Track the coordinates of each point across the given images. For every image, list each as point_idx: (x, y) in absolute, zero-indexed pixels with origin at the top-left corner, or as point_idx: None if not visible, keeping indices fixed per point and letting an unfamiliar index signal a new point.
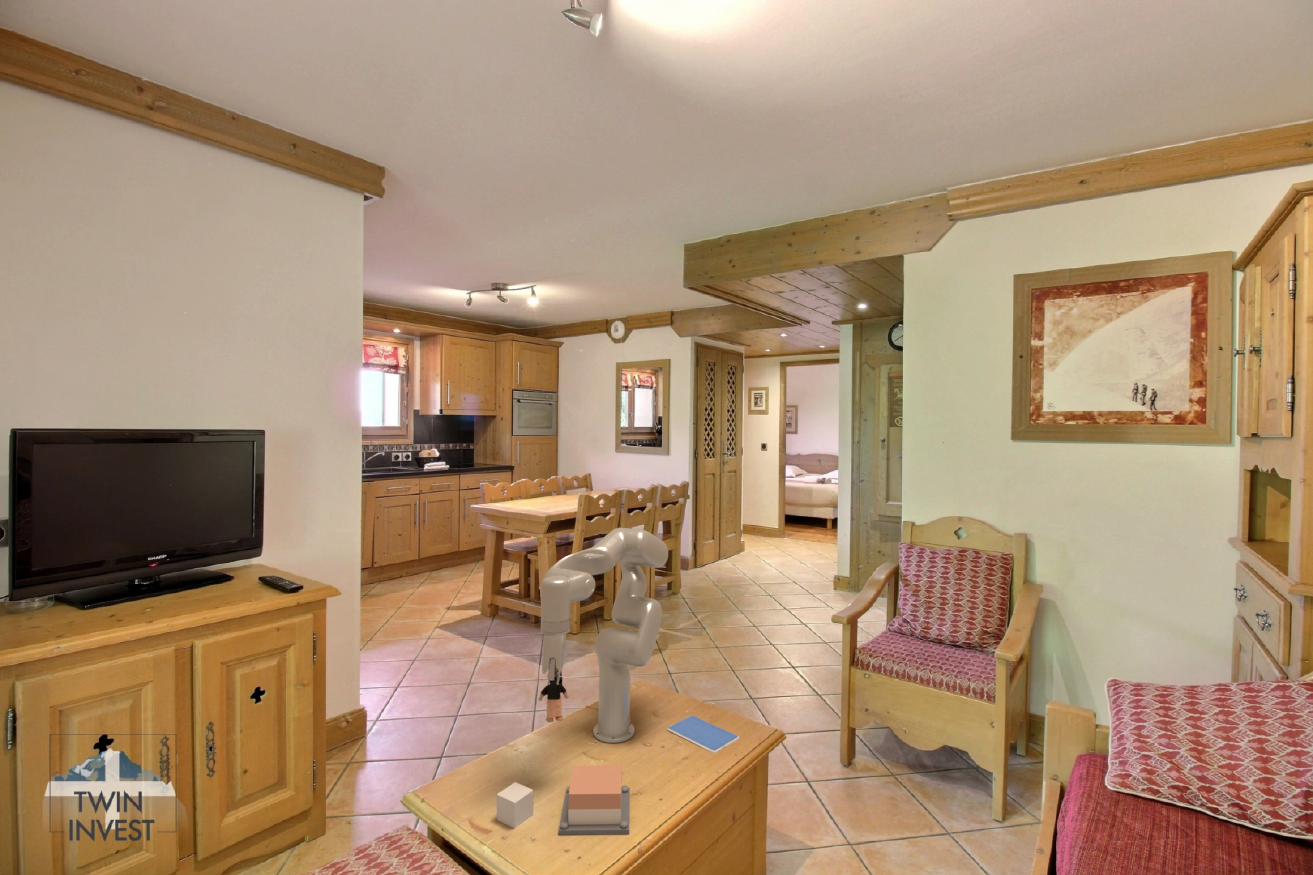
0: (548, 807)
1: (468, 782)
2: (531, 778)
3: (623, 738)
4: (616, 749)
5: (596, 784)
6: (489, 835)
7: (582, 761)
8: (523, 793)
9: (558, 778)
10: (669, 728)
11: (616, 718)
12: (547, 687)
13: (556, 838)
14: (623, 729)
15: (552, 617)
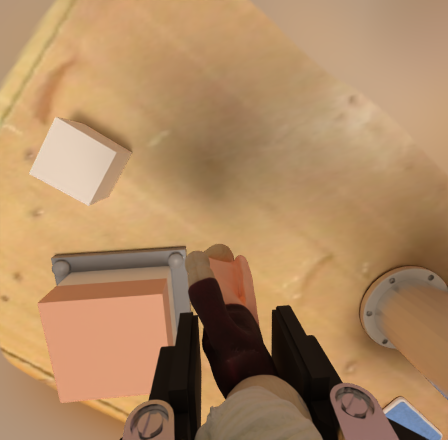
0: (134, 221)
1: (213, 11)
2: (232, 165)
3: (366, 331)
4: (336, 317)
5: (87, 353)
6: (30, 122)
7: (295, 259)
8: (70, 185)
9: (233, 222)
10: (398, 403)
11: (402, 344)
12: (213, 344)
13: (45, 253)
14: (387, 338)
15: None
